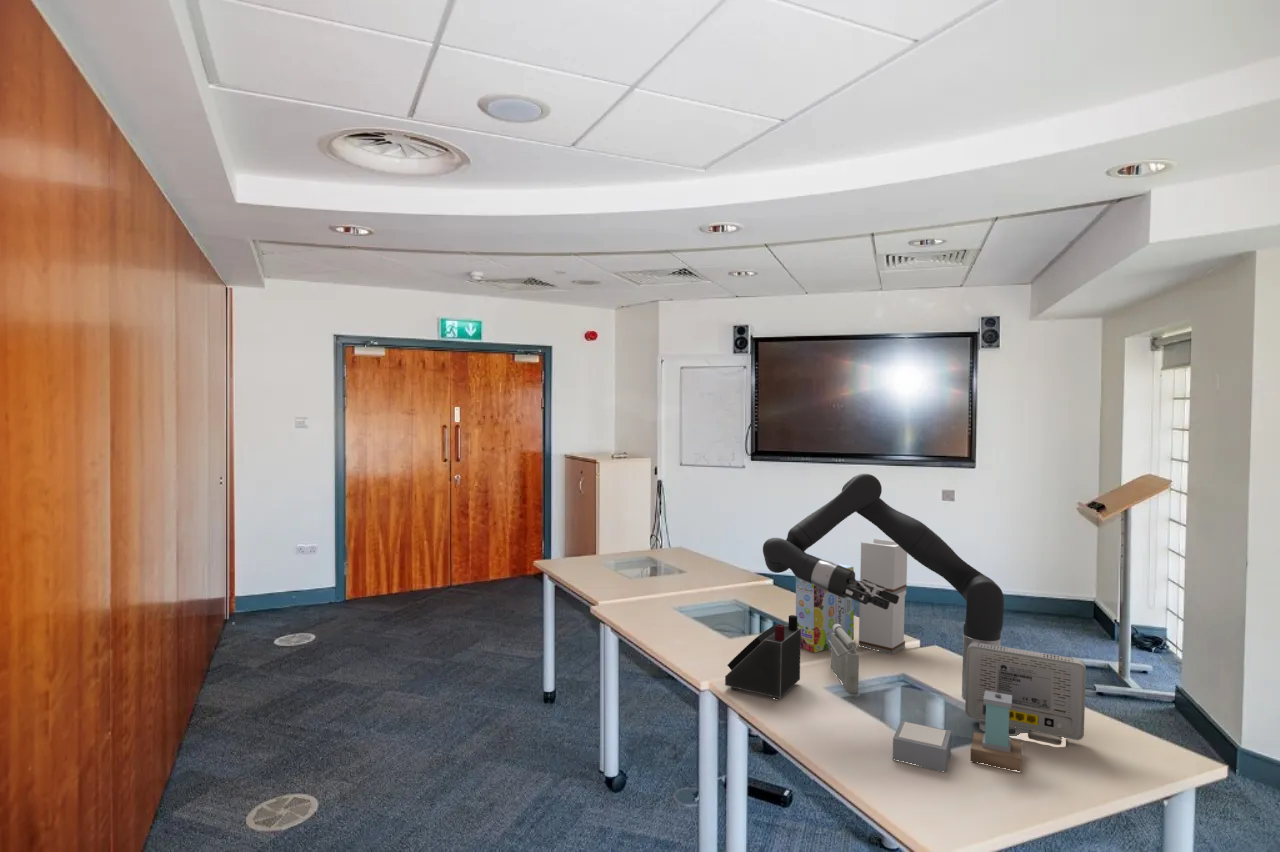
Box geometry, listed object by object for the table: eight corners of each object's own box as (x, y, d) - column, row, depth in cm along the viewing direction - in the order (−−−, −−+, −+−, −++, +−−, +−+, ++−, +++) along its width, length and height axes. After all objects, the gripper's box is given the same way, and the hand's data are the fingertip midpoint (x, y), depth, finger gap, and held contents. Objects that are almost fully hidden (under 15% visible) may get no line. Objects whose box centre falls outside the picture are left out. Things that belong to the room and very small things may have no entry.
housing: (983, 737, 169) (985, 687, 169) (1010, 743, 166) (1012, 692, 166) (982, 747, 164) (983, 695, 164) (1010, 753, 161) (1011, 701, 161)
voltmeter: (746, 672, 217) (747, 606, 216) (799, 684, 208) (801, 614, 208) (724, 690, 203) (725, 619, 203) (780, 703, 195) (781, 628, 194)
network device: (1083, 739, 176) (1085, 657, 175) (1083, 754, 168) (1086, 668, 168) (967, 715, 189) (969, 638, 188) (963, 727, 181) (965, 648, 181)
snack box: (833, 635, 255) (835, 562, 255) (854, 641, 248) (856, 566, 248) (793, 646, 242) (794, 569, 241) (814, 653, 235) (816, 574, 234)
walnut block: (973, 744, 172) (974, 731, 172) (1021, 754, 167) (1021, 741, 167) (970, 761, 163) (970, 748, 163) (1020, 773, 158) (1021, 759, 158)
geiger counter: (863, 643, 202) (840, 618, 227) (840, 642, 202) (820, 617, 227) (862, 693, 202) (839, 662, 227) (839, 692, 203) (819, 661, 228)
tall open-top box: (904, 647, 243) (907, 542, 243) (891, 654, 236) (894, 546, 235) (872, 639, 251) (874, 538, 250) (858, 646, 243) (861, 542, 242)
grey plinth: (900, 741, 173) (901, 719, 173) (950, 752, 168) (951, 729, 167) (892, 760, 163) (893, 737, 163) (945, 772, 158) (946, 749, 158)
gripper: (827, 567, 185) (889, 593, 176) (845, 561, 196) (905, 585, 187) (819, 595, 185) (881, 622, 176) (838, 587, 197) (896, 612, 188)
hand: (893, 603), depth 182 cm, fingers open, 8 cm apart
